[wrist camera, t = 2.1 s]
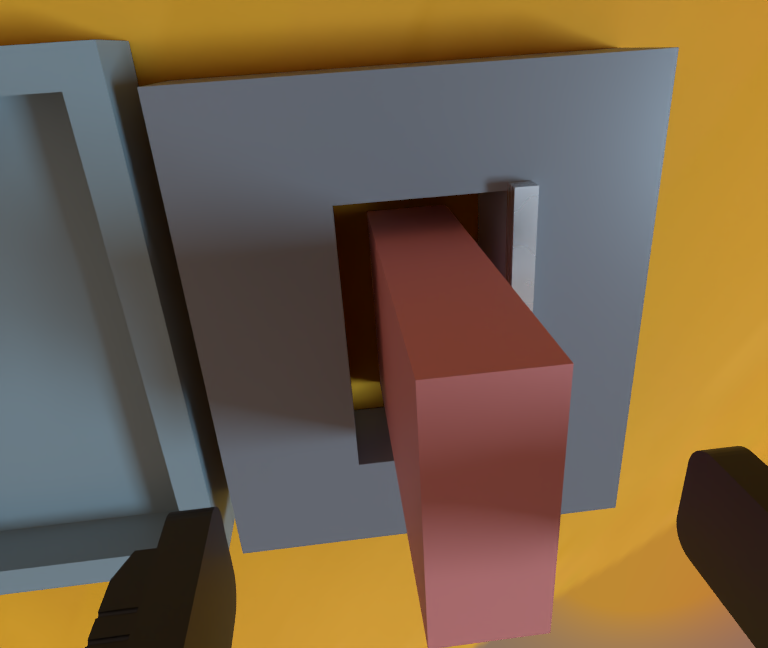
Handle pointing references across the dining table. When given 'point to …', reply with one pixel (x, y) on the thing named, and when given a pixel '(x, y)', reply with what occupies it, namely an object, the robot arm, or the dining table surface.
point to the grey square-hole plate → (387, 183)
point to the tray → (90, 327)
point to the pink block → (469, 427)
